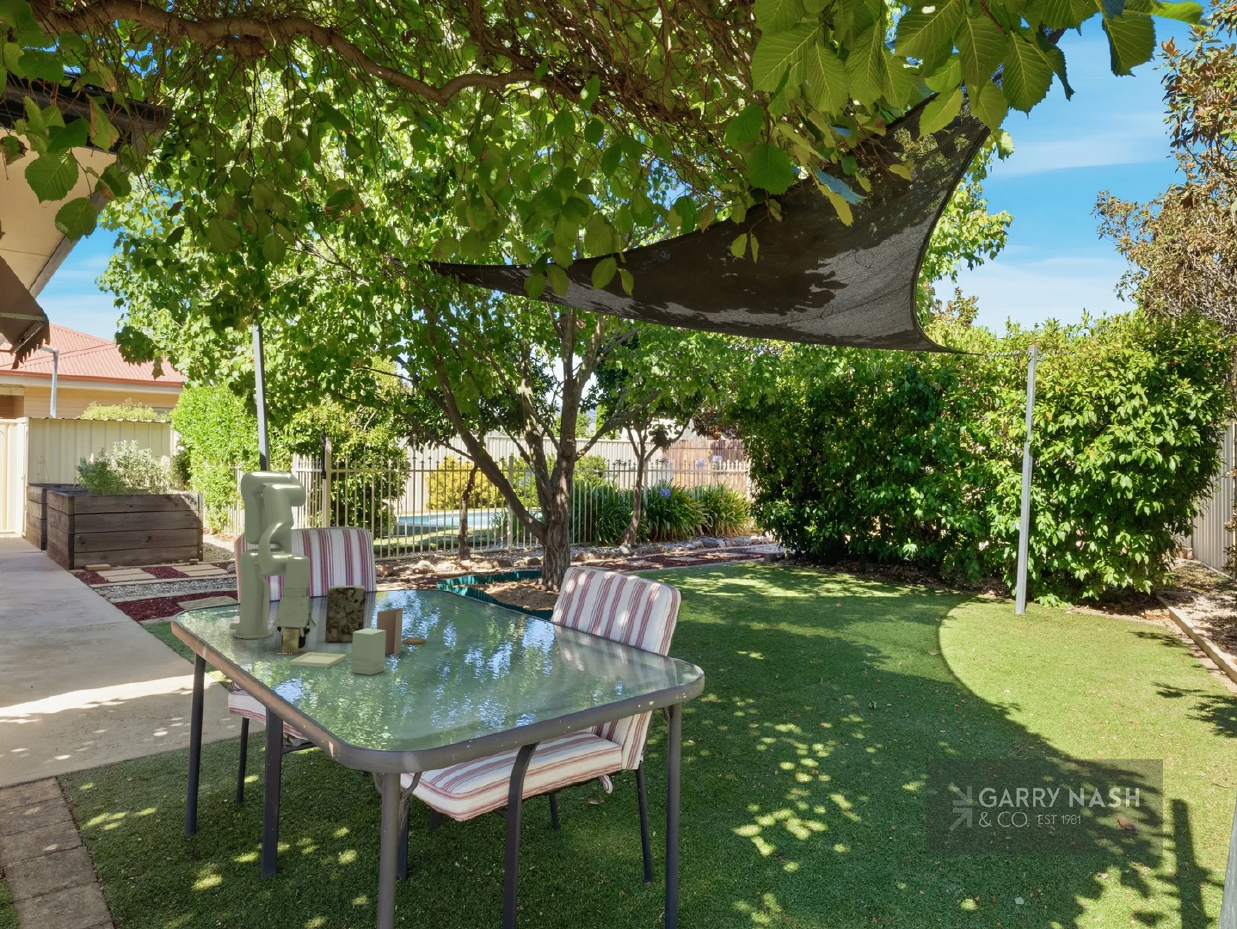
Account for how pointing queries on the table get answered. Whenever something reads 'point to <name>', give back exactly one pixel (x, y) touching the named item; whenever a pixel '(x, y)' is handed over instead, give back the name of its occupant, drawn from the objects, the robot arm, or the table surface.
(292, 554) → the robot arm
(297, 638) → the beech block
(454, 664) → the table surface
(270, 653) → the tile
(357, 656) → the supplement box
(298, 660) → the cream tray
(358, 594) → the stone block
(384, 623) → the greeting card
